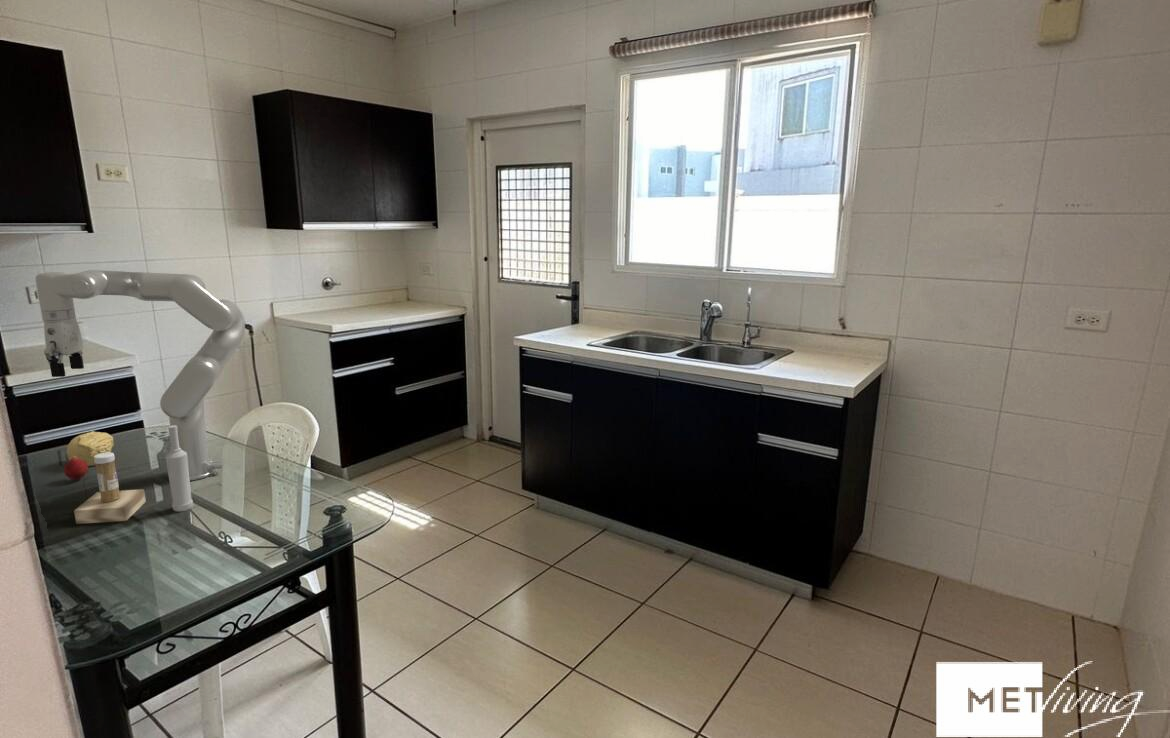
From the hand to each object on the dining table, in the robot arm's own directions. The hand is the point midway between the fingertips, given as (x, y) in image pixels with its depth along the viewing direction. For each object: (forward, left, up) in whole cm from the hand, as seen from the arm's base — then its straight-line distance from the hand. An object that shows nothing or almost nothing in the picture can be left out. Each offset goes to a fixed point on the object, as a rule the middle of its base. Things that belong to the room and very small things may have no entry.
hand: (68, 372), depth 184 cm
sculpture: (+8, -20, -37) cm, 42 cm away
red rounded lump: (+5, -5, -36) cm, 37 cm away
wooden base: (-16, +21, -36) cm, 45 cm away
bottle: (-34, +21, -36) cm, 54 cm away
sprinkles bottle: (-16, +21, -32) cm, 42 cm away
